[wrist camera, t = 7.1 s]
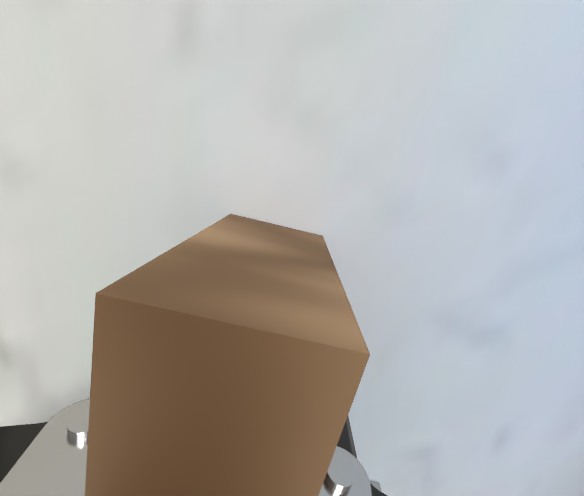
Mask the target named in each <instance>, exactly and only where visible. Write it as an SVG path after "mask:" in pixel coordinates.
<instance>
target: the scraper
mask: <svg viewBox="0 0 584 496" xmlns="http://www.w3.org/2000/svg"><path fill="white" fill-rule="evenodd" d="M369 356H370V353H369V351H368V348H367V346H366V343H365V341H364V338H363V336H362V333H361V331H360V328H359V326H358V323H357V321H356V318H355V316H354V313H353V311H352V308H351V306H350V303H349V301H348V298H347V296H346V293H345V291H344V288H343V286H342V283H341V281H340V278H339V276H338V273H337V271H336V268H335V266H334V263H333V261H332V258H331V256H330V253H329V251H328V248H327V246H326V243H325V241H324V238H323V236H321V235H317V234H312V233H308V232H304V231H300V230H296V229H292V228H287V227H283V226H279V225H275V224H271V223H266V222H262V221H258V220H254V219H250V218H246V217H241V216H237V215H233V214H230V215H228V216H226V217H225V218H223V219H221V220H220V221H218V222H216V223H215V224H213V225H211V226H209V227H208V228H206V229H204V230H203V231H201V232H199V233H198V234H196V235H194V236H192V237H191V238H189V239H187V240H186V241H184V242H182V243H180V244H179V245H177V246H175V247H174V248H172V249H170V250H169V251H167V252H165V253H163V254H162V255H160V256H158V257H157V258H155V259H153V260H152V261H150V262H148V263H146V264H145V265H143V266H141V267H140V268H138V269H136V270H135V271H133V272H131V273H129V274H128V275H126V276H124V277H123V278H121V279H119V280H118V281H116V282H114V283H112V284H111V285H109V286H107V287H106V288H104V289H102V290H101V291H99V292H97V293H96V298H95V316H94V334H93V353H92V371H91V389H90V408H89V426H88V445H87V463H86V481H85V496H319V493H320V490H321V488H322V485H323V482H324V479H325V477H326V474H327V471H328V468H329V466H330V463H331V460H332V457H333V455H334V452H335V449H336V446H337V444H338V441H339V438H340V435H341V433H342V430H343V427H344V424H345V422H346V423H347V428H348V433H349V438H350V443H351V449H352V453H353V456H354V457H355V458H356V459H357V456H356V451H355V446H354V442H353V437H352V432H351V427H350V422H349V418H348V413H349V411H350V408H351V405H352V402H353V400H354V397H355V394H356V391H357V389H358V386H359V383H360V380H361V378H362V375H363V372H364V369H365V367H366V364H367V361H368V358H369Z"/></svg>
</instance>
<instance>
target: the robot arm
mask: <svg viewBox="0 0 584 496" xmlns="http://www.w3.org/2000/svg"><path fill="white" fill-rule="evenodd" d="M89 408H90V399H87V400H83V401H80V402H77V403H74V404H72V405H70V406H68V407H66V408H64V409H63V410H61V411H60V412H58V413H57V414H56V415H55V416H53V417H52V418H51V419H50V420H49V421H48V422H45V423H38V424H27V425H16V426H4V427H0V496H85V481H86V463H87V445H88V426H89ZM319 496H387V495H385V494H384V493H382V492H380V491H379V490H378V489H377V488H375V487H374V486H373V485H372V484H371V483H370V481H369V478H368V476H367V473H366V471H365V470H364V468H363V466H362V465H361V464H360V462H359V461H358V460H357V459H356V458H355V457H354V456H353V453H352V449H351V443H350V438H349V433H348V428H347V423H346V422H345V424H344V427H343V430H342V433H341V435H340V438H339V441H338V444H337V446H336V449H335V452H334V455H333V457H332V460H331V463H330V466H329V468H328V471H327V474H326V477H325V479H324V482H323V485H322V488H321V490H320V493H319Z"/></svg>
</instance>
